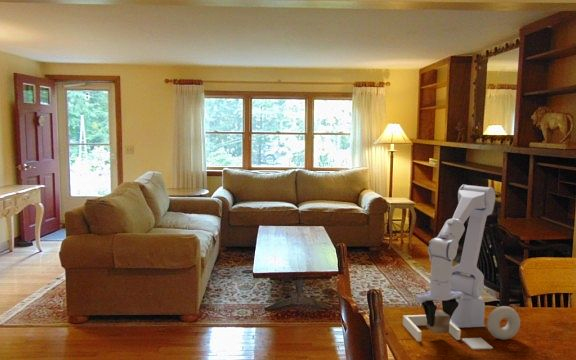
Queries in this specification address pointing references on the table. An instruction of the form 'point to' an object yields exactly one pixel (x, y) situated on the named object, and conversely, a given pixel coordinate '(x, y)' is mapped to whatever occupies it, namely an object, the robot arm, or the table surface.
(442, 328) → the block
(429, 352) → the table surface
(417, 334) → the cream u-shaped arch
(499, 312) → the donut
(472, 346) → the mat
